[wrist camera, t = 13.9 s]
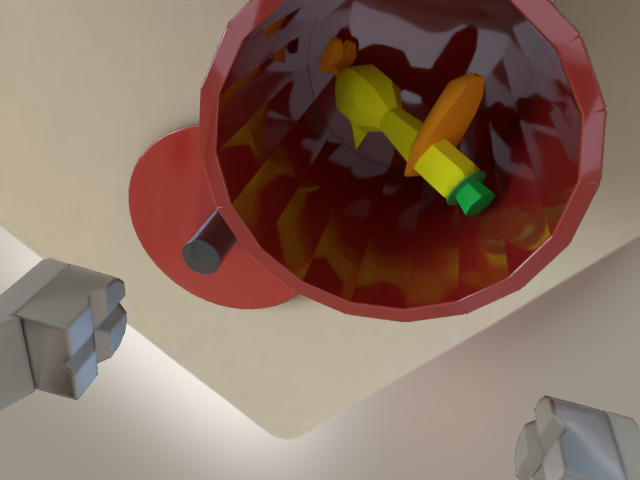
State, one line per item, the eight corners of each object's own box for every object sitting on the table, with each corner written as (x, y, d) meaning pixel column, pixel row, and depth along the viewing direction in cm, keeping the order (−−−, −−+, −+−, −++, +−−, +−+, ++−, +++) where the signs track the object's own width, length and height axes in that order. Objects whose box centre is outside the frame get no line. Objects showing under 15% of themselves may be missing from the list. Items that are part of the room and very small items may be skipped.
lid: (139, 271, 42) (102, 312, 38) (133, 97, 35) (86, 123, 30) (312, 320, 41) (295, 368, 37) (347, 149, 33) (330, 185, 29)
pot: (285, 149, 34) (193, 272, 22) (318, -100, 27) (206, -109, 15) (494, 201, 33) (511, 360, 21) (591, -47, 25) (700, -11, 14)
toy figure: (338, -17, 26) (521, 122, 20) (386, -3, 28) (562, 124, 22) (289, 104, 30) (430, 250, 24) (335, 107, 32) (474, 241, 26)
